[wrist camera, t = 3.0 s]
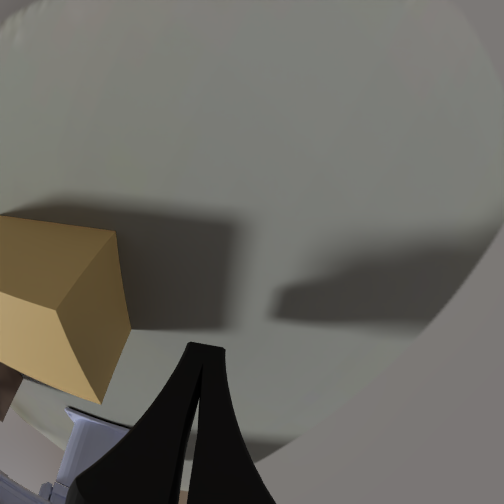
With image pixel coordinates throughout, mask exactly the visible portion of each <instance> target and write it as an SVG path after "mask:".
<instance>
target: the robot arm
mask: <svg viewBox="0 0 504 504" xmlns="http://www.w3.org/2000/svg"><path fill="white" fill-rule="evenodd" d="M225 351H226V350H225V349H224V348H223V347H217V346H212V345H206V344H201V343H195V342H189V343H187V346H186V348H185V351H184V353H183V355H182V357H181V359H180V361H179V363H178V365H177V366H176V368H175V370H174V372H173V373H172V375H171V377H170V378H169V380H168V381H167V383H166V385H165V386H164V388H163V389H162V391H161V392H160V393H159V395H158V396H157V398H156V399H155V400H154V402H153V403H152V404H151V406H150V407H149V408H148V410H147V411H146V412H145V413H144V415H143V416H142V417H141V418H140V419H139V421H138V422H137V423H136V424H135V425H134V426H133V427H132V428H131V429H127V428H124V427H121V426H117V425H114V424H111V423H108V422H105V421H102V420H99V419H96V418H94V417H91V416H88V415H85V414H83V413H80V412H78V411H75V410H73V409H70V408H68V407H66V408H65V412H66V413H67V414H68V416H69V417H70V418H71V419H72V421H73V422H74V423H75V424H74V427H73V430H72V433H71V435H70V438H69V441H68V444H67V447H66V450H65V453H64V456H63V459H62V462H61V466H60V469H59V472H58V475H57V479H56V481H57V482H58V483H60V484H62V485H64V486H66V487H64V486H62V485H60V484H58V483H56V482H55V483H54V487H52V484H51V483H49V482H47V483H44V484H42V486H41V488H40V491H39V494H38V495H37V494H35V493H33V492H31V491H30V490H28V489H26V488H25V487H23V486H21V485H19V484H18V483H16V482H15V481H13V480H12V479H10V478H9V477H8V475H6V474H5V473H4V472H2V471H1V470H0V504H178V502H179V494H180V487H181V479H182V472H183V465H184V458H185V452H186V447H187V442H188V439H189V435H190V431H191V427H192V424H193V420H194V416H195V412H196V409H197V405H198V401H199V415H198V433H197V440H196V446H195V452H194V459H193V465H192V472H191V479H190V485H189V492H188V499H187V504H276V503H275V501H274V499H273V498H272V496H271V495H270V493H269V491H268V490H267V488H266V487H265V485H264V483H263V481H262V479H261V477H260V475H259V473H258V471H257V470H256V467H255V465H254V464H253V461H252V459H251V457H250V455H249V452H248V450H247V448H246V445H245V443H244V440H243V438H242V435H241V432H240V429H239V426H238V423H237V420H236V416H235V413H234V409H233V405H232V401H231V397H230V392H229V387H228V381H227V374H226V364H225ZM199 397H200V399H199ZM67 487H68V488H67Z"/></svg>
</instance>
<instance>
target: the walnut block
mask: <svg viewBox="0 0 504 504" xmlns="http://www.w3.org/2000/svg"><path fill="white" fill-rule="evenodd" d="M22 380H23V378H22V376H21V375H20V373H19V372H18V371H17V370H15V369H13V368H11V367H9V366H7V365H5V364H4V363H2V362H0V421H2V422H3V420H4V418H5V416H6V413H7V411H8V409H9V407H10V405H11V403H12V400H13V398H14V396H15V394H16V392H17V390H18V388H19V386H20V384H21V382H22Z"/></svg>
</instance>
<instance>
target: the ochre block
mask: <svg viewBox="0 0 504 504" xmlns="http://www.w3.org/2000/svg"><path fill="white" fill-rule="evenodd" d="M130 331H131V325H130V320H129V316H128V310H127V305H126V300H125V294H124V288H123V282H122V276H121V269H120V262H119V255H118V247H117V238H116V231H111V230H104V229H97V228H89V227H82V226H75V225H67V224H60V223H53V222H45V221H38V220H30V219H23V218H16V217H8V216H1V215H0V362H2V363H4V364H5V365H7V366H9V367H11V368H13V369H15V370H17V371H19V372H21V373H23V374H25V375H27V376H29V377H32V378H34V379H36V380H38V381H40V382H43V383H45V384H47V385H50V386H52V387H54V388H57V389H59V390H62V391H64V392H67V393H69V394H72V395H75V396H77V397H80V398H83V399H86V400H89V401H92V402H95V403H98V404H102V401H103V399H104V396H105V393H106V391H107V388H108V385H109V383H110V380H111V378H112V375H113V372H114V370H115V367H116V365H117V362H118V360H119V358H120V355H121V353H122V350H123V348H124V345H125V343H126V341H127V338H128V336H129V334H130Z"/></svg>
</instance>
